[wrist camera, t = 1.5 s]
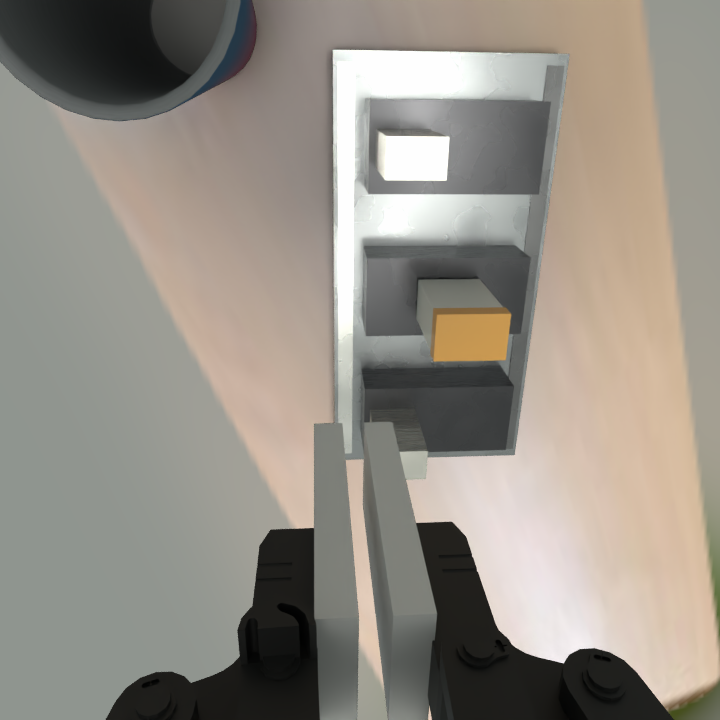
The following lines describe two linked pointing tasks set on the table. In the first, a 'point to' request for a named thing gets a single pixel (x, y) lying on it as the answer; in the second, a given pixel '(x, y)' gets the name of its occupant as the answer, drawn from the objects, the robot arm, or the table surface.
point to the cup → (125, 51)
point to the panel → (436, 236)
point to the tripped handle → (462, 320)
